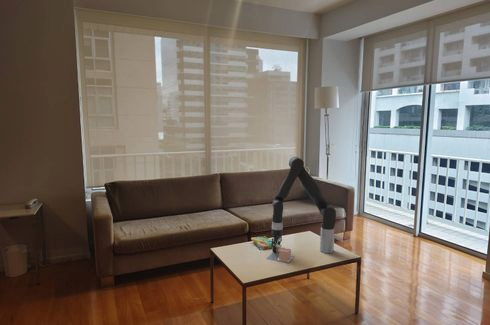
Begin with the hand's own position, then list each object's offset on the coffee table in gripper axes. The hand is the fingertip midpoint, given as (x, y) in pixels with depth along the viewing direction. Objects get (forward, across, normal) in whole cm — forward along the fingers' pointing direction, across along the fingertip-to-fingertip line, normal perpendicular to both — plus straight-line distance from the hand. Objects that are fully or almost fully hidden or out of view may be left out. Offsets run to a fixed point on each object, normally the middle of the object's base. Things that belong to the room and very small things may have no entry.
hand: (276, 250), depth 231 cm
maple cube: (+2, 0, 0) cm, 2 cm away
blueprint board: (+2, -11, -7) cm, 13 cm away
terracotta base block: (0, -11, -10) cm, 15 cm away
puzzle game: (+2, +7, +13) cm, 15 cm away
